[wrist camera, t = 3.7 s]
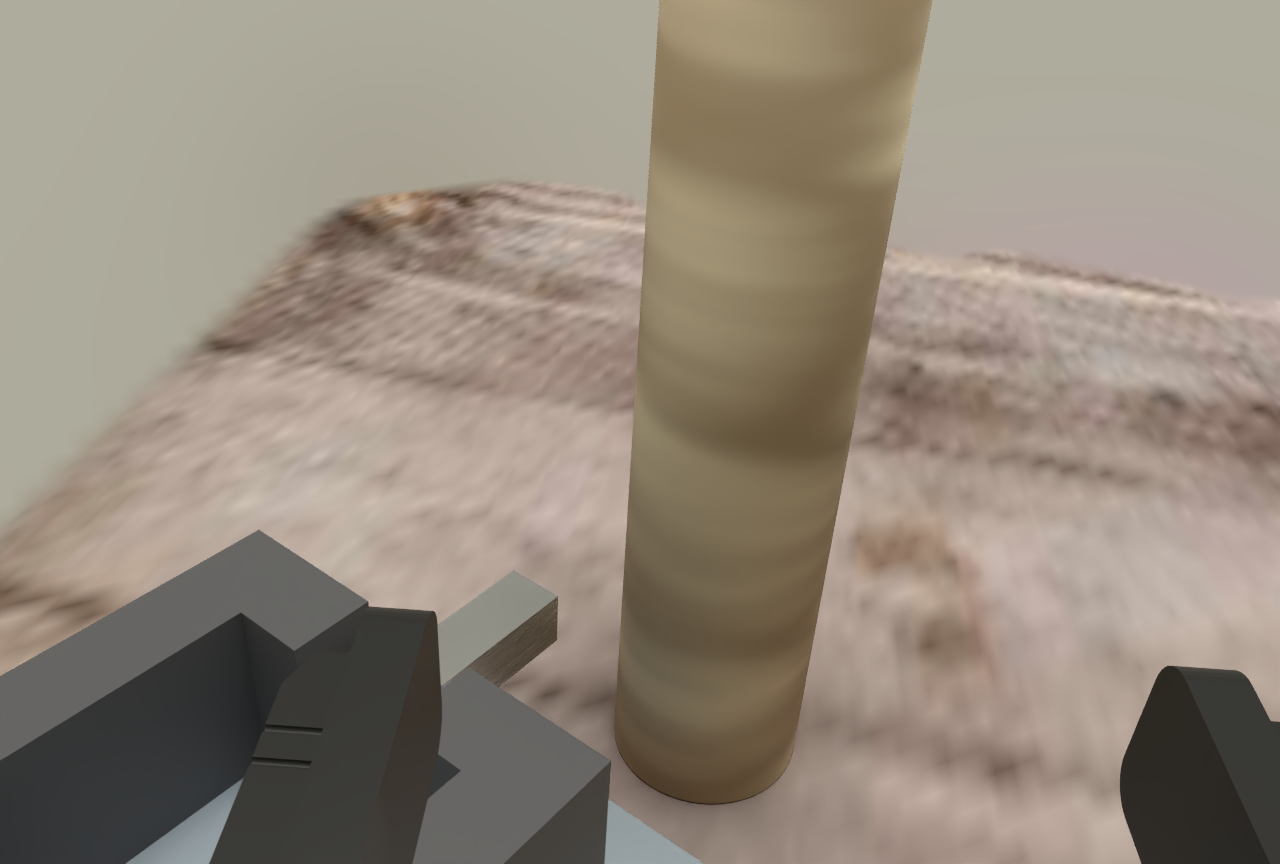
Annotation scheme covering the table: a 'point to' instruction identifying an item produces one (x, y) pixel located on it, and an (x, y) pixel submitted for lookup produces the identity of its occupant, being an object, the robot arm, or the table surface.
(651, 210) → the birch dowel
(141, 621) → the band socket
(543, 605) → the plunger
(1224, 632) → the table surface
